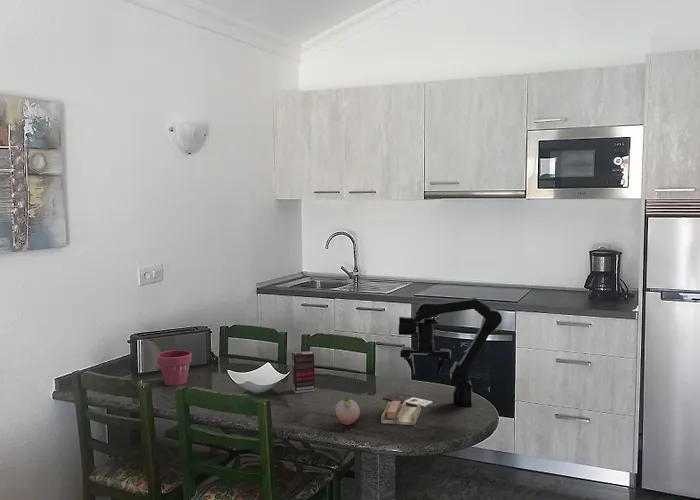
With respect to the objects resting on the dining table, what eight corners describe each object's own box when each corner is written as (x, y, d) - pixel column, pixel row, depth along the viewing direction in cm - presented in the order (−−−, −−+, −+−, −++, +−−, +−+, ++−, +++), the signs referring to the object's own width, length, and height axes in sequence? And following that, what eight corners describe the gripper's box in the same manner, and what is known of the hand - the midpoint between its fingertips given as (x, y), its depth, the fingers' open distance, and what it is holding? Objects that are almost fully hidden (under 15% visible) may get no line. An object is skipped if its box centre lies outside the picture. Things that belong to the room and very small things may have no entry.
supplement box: (312, 387, 280) (311, 350, 278) (315, 391, 275) (314, 353, 274) (292, 389, 278) (291, 352, 276) (294, 393, 273) (293, 355, 271)
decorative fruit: (363, 428, 233) (362, 400, 232) (340, 431, 231) (340, 402, 230) (355, 419, 242) (354, 392, 241) (333, 421, 240) (332, 394, 239)
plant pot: (186, 376, 300) (185, 347, 299) (197, 383, 288) (195, 354, 287) (154, 381, 293) (153, 352, 292) (163, 389, 281) (162, 359, 280)
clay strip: (400, 407, 250) (400, 401, 250) (395, 418, 238) (395, 411, 238) (392, 407, 251) (392, 400, 250) (387, 418, 239) (387, 411, 239)
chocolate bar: (396, 392, 271) (434, 400, 260) (396, 394, 271) (434, 403, 260) (382, 397, 264) (421, 406, 253) (382, 400, 264) (421, 409, 253)
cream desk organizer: (420, 410, 250) (420, 403, 250) (415, 425, 235) (414, 418, 235) (388, 408, 253) (388, 401, 253) (381, 423, 238) (381, 416, 237)
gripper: (452, 331, 261) (452, 370, 262) (404, 329, 265) (404, 368, 267) (449, 337, 250) (449, 378, 252) (400, 335, 254) (400, 376, 256)
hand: (425, 375), depth 257 cm, fingers open, 9 cm apart
